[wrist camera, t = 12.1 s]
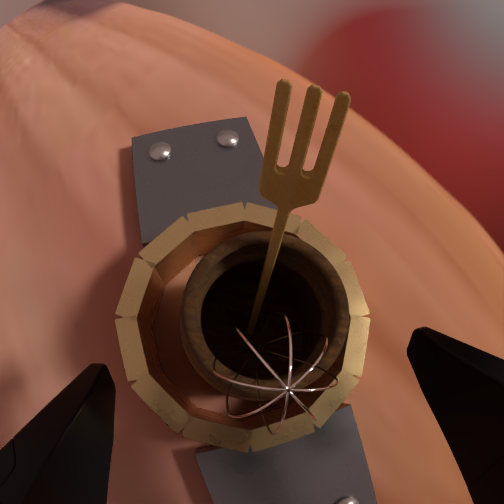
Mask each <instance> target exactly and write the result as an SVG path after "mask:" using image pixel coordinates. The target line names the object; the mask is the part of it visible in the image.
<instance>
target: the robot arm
mask: <svg viewBox="0 0 504 504" xmlns="http://www.w3.org/2000/svg"><path fill="white" fill-rule="evenodd" d="M407 356H408V359H409V361H410V363H411V366H412V368H413V370H414V373H415V375H416V378H417V380H418V382H419V385H420V387H421V390H422V392H423V394H424V396H425V398H426V400H427V402H428V404H429V406H430V408H431V410H432V412H433V414H434V416H435V418H436V420H437V422H438V424H439V426H440V428H441V430H442V432H443V434H444V436H445V438H446V440H447V442H448V444H449V447H450V449H451V451H452V453H453V455H454V457H455V460H456V462H457V464H458V466H459V469H460V471H461V473H462V476H463V478H464V480H465V483H466V485H467V487H468V490H469V493H470V495H471V498H472V501H473V503H474V504H504V360H503V359H501V358H498V357H496V356H494V355H491V354H489V353H487V352H484V351H482V350H480V349H477V348H475V347H473V346H470V345H468V344H466V343H463V342H461V341H459V340H456V339H454V338H452V337H449V336H447V335H444V334H442V333H440V332H437V331H435V330H433V329H430V328H428V327H421V328H417V329H415V330H414V331H413V333H412V336H411V339H410V342H409V345H408V347H407ZM115 394H116V390H115V384H114V382H113V379H112V377H111V375H110V372H109V370H108V368H107V366H106V365H105V364H101V363H92V364H90V365H89V366H88V367H87V368H86V369H85V370H84V371H83V372H81V373H80V374H79V375H78V376H77V377H76V378H75V379H74V380H73V381H72V382H71V383H70V384H69V385H67V386H66V387H65V388H64V389H63V390H62V391H61V392H60V393H59V394H58V395H57V396H56V397H55V398H54V399H53V400H52V401H51V402H49V403H48V404H47V405H46V406H45V407H44V408H43V409H42V410H41V411H40V412H39V413H38V414H37V415H36V416H35V417H34V418H33V419H32V420H31V421H30V422H29V423H28V424H27V425H25V426H24V427H23V428H22V429H21V430H20V431H19V432H18V433H17V434H16V435H15V436H14V438H13V439H11V440H10V441H9V442H8V443H7V444H6V445H5V446H4V447H3V448H2V449H1V450H0V504H107V491H108V480H109V471H110V462H111V454H112V446H113V437H114V411H115Z"/></svg>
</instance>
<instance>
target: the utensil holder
mask: <svg viewBox="0 0 504 504" xmlns="http://www.w3.org/2000/svg"><path fill="white" fill-rule="evenodd" d="M291 91H292V84H291V82H290V81H289V80H286V79H281V80H280V81H279V82H277V86H276V91H275V97H274V102H273V108H272V114H271V119H270V125H269V131H268V136H267V142H266V148H265V153H264V159H263V165H262V171H261V176H260V182H259V192H260V194H261V196H263V197H264V198H266V199H267V200H269V201H270V202H272V203H274V204H275V205H277V206H278V210H277V214H276V218H275V222H274V226H273V230H272V232H271V231H256V232H249V233H244V234H240V235H237V236H234V237H232V238H230V239H227V240H225V241H224V242H222V243H220V244H218V245H217V246H216V247H214V248H213V249H212V250H210V251H209V252H208V253H207V254H206V255H205V256H204V257H203V258H202V259H201V260H200V262H199V263H198V264H197V266H196V267H195V269H194V270H193V272H192V274H191V276H190V278H189V280H188V282H187V285H186V288H185V291H184V295H183V299H182V306H181V314H180V334H181V340H182V344H183V347H184V350H185V353H186V355H187V357H188V359H189V361H190V363H191V365H192V366H193V368H194V369H195V370H196V372H197V373H198V374H199V375H200V376H201V377H202V378H203V379H204V380H205V381H206V382H207V383H208V384H210V385H211V386H212V387H214V388H215V389H217V390H219V391H220V392H222V393H224V394H227V395H226V410H227V414H228V415H229V416H230V417H232V418H242V417H246V416H249V415H252V414H254V413H257V412H259V411H261V414H262V417H263V420H264V422H265V425H266V427H267V429H268V431H269V433H270V434H271V435H276V434H277V433H278V432H279V431H280V429H281V427H282V424H283V421H284V418H285V414H286V410H287V405H288V399H289V394H290V395H291V396H292V397H293V398H294V399H295V401H296V402H297V403H298V404H299V405H300V406H301V407H302V408H303V409H304V410H305V411H306V412H307V413H308V414H309V415H310V417H311V418H312V419H313V420H315V421H317V418H316V417H315V416H314V415H313V414H312V413H311V412H310V411H309V409H308V408H307V407H306V406H305V405H304V404H303V403H302V401H301V400H300V399H299V398H298V397H297V396H296V395H295V393H294V392H311V391H321V390H326V389H330V388H333V387H335V386H336V385H337V384H338V383H339V379H338V378H337V377H335V376H334V375H332V374H331V373H329V372H328V371H327V370H328V369H329V368H330V367H331V365H332V364H333V363H334V361H335V360H336V358H337V357H338V355H339V353H340V351H341V350H342V347H343V345H344V342H345V339H346V336H347V332H348V326H349V304H348V298H347V294H346V290H345V287H344V285H343V282H342V280H341V278H340V276H339V274H338V273H337V271H336V270H335V268H334V267H333V265H332V264H331V263H330V262H329V260H328V259H327V258H326V257H325V256H324V255H323V254H322V253H321V252H319V251H318V250H317V249H316V248H314V247H313V246H311V245H310V244H308V243H306V242H305V241H303V240H301V239H299V238H296V237H294V236H291V235H288V234H284V231H285V228H286V225H287V221H288V218H289V214H290V212H291V211H292V210H293V209H294V208H297V207H301V206H305V205H309V204H313V203H315V202H316V201H317V200H318V199H319V196H320V194H321V191H322V188H323V185H324V182H325V179H326V176H327V173H328V170H329V167H330V164H331V161H332V158H333V155H334V152H335V149H336V146H337V143H338V140H339V137H340V134H341V131H342V128H343V124H344V121H345V118H346V115H347V112H348V108H349V105H350V102H351V97H350V95H349V93H348V92H344V91H341V92H340V93H338V94H337V95H336V99H335V102H334V105H333V109H332V112H331V115H330V118H329V122H328V125H327V128H326V131H325V135H324V138H323V141H322V144H321V147H320V151H319V154H318V157H317V160H316V163H315V166H314V169H312V170H311V171H304V170H303V165H304V161H305V158H306V154H307V150H308V146H309V143H310V139H311V135H312V131H313V128H314V124H315V120H316V116H317V112H318V108H319V104H320V100H321V97H322V90H321V88H320V86H318V85H311V86H310V87H308V88H307V92H306V96H305V100H304V105H303V109H302V113H301V117H300V121H299V125H298V129H297V133H296V138H295V142H294V146H293V150H292V154H291V158H290V162H289V165H288V166H286V167H279V166H278V165H277V160H278V155H279V150H280V145H281V140H282V135H283V131H284V126H285V121H286V116H287V111H288V106H289V101H290V96H291ZM324 373H327V374H328V375H330V376H331V377H333V378H334V379H335V380H336V383H335V384H333V385H331V386H327V387H322V388H313V389H302V388H304V387H306V386H308V385H309V384H311V383H312V382H314V381H315V380H317V379H318V378H319V377H321V376H322V375H323V374H324ZM228 395H229V396H232V397H235V398H239V399H243V400H251V401H259V405H260V408H258V409H256V410H254V411H252V412H250V413H247V414H243V415H238V416H234V415H231V414H230V412H229V406H228ZM283 396H286V398H285V404H284V410H283V414H282V418H281V421H280V424H279V427H278V429H277V430H276V432H274V433H272V432H271V430H270V428H269V426H268V424H267V421H266V419H265V416H264V413H263V409H264V408H266V407H268V406H269V405H271V404H272V403H274V402H275V401H277V400H278V399H280V398H281V397H283ZM272 399H273V400H272ZM265 400H272V401H270V402H269V403H267V404H265V405H264V406H262V405H261V401H265Z"/></svg>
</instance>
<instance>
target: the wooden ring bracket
mask: <svg viewBox="0 0 504 504" xmlns="http://www.w3.org/2000/svg"><path fill="white" fill-rule="evenodd" d="M132 152H133V166H134V178H135V189H136V199H137V208H138V216H139V224H140V232H141V239H142V244H143V246H144V248H143V249H142V250H141V251H140V252H139V253H138V254H139V255H140V257H141V258H142V259H139V258H136V257H135V259H134V262H133V264H132V267H131V270H130V272H129V275H128V278H127V281H126V283H125V286H124V289H123V292H122V295H121V298H120V300H119V303H118V306H117V309H116V312H115V314H116V315H118V316H119V317H121V318H119V319H115V324H116V330H117V335H118V340H119V345H120V350H121V355H122V359H123V363H124V368H125V372H126V376H127V380H128V381H136V382H135V383H134V384H133V385H132V386H131V388H132V389H133V390H134V391H135V392H136V393H137V394H138V395H139V396H140V397H141V399H142V400H143V401H144V402H145V403H146V404H147V405H148V406H149V407H150V408H151V409H152V410H153V411H154V412H155V413H156V414H157V415H158V416H159V417H160V418H161V419H162V420H163V421H164V422H165V423H166V424H167V425H168V426H169V427H170V428H171V429H172V430H173V431H174V432H175V433H176V434H177V433H179V432H180V431H181V430H182V429H183V428H184V431H183V435H182V437H184V438H188V439H191V440H195V441H198V442H202V443H206V444H210V445H213V446H209V447H204V448H199V449H196V451H195V457H196V460H197V463H198V465H199V468H200V471H201V473H202V476H203V478H204V481H205V483H206V486H207V488H208V491H209V493H210V495H211V498H212V500H213V503H214V504H377V501H376V496H375V492H374V488H373V484H372V480H371V476H370V472H369V468H368V465H367V461H366V457H365V453H364V450H363V446H362V442H361V439H360V435H359V431H358V428H357V424H356V421H355V417H354V414H353V411H352V407H351V405H350V404H345V403H342V402H343V401H344V400H345V398H346V397H347V396H348V395H349V393H350V392H351V391H352V390H353V388H354V387H355V386H356V385H357V383H358V382H359V380H357V379H356V378H355V377H354V376H361V375H362V370H363V364H364V359H365V353H366V346H367V340H368V333H369V325H370V318H366V317H363V316H365V315H368V314H370V312H369V310H368V307H367V304H366V301H365V298H364V296H363V293H362V290H361V288H360V285H359V282H358V280H357V277H356V274H355V272H354V269H353V267H352V264H351V262H350V261H346V262H343V261H344V260H345V258H346V257H347V256H346V255H345V254H344V253H343V252H342V251H341V250H340V249H339V248H338V247H336V246H335V245H334V244H333V243H332V242H331V241H330V240H329V239H328V238H326V237H325V236H324V235H323V234H322V233H321V232H320V231H319V230H317V229H316V228H315V227H314V226H313V225H312V224H311V223H309V222H308V221H307V220H306V219H305V220H304V221H303V222H302V223H301V224H300V221H301V217H300V216H297V215H293V214H289V218H288V221H287V225H286V228H285V231H284V234H288V235H291V236H294V237H296V238H299V239H301V240H303V241H305V242H306V243H308V244H310V245H311V246H313V247H314V248H316V249H317V250H318V251H319V252H321V253H322V254H323V255H324V256H325V257H326V258H327V259H328V260H329V262H330V263H331V264H332V265H333V267H334V268H335V270H336V271H337V273H338V274H339V276H340V278H341V280H342V282H343V285H344V287H345V290H346V294H347V298H348V304H349V326H348V332H347V336H346V339H345V342H344V345H343V347H342V350H341V351H340V353H339V355H338V357H337V358H336V360H335V361H334V363H333V364H332V365H331V367H330V368H329V369H328V370H327V371H328V372H329V373H331V374H332V375H334V376H335V377H337V378H338V379H339V383H338V384H337V385H336V386H335V387H333V388H330V389H326V390H321V391H311V392H301V393H300V394H299V395H298V396H297V397H298V398H299V399H300V400H301V401H302V403H303V404H304V405H305V406H306V407H307V408H308V409H309V411H310V412H311V413H312V414H313V415H314V416H315V417H316V418H317V421H315V420H313V419H312V418H311V417H310V415H309V414H308V413H307V412H306V411H305V410H304V409H303V408H302V407H301V406H300V405H299V404H298V403H297V402H296V401H295V400H294V401H293V402H292V403H291V404H290V405H288V406H287V410H286V414H285V418H284V421H283V424H282V427H281V429H280V431H279V432H278V433H277V434H276V435H271V434H270V433H269V431H268V429H267V427H266V425H265V422H264V420H263V417H262V414H260V415H257V416H253V417H250V418H246V419H241V418H232V417H230V416H228V415H224V414H220V413H216V412H212V411H208V410H204V409H201V408H197V407H196V406H195V405H194V404H192V403H191V402H190V401H189V400H188V399H187V398H186V397H185V396H184V395H183V394H182V393H181V392H180V391H179V390H178V389H177V388H176V387H175V386H174V385H173V384H172V383H171V382H170V381H169V380H168V379H167V378H166V376H165V375H164V374H163V373H162V369H161V366H160V362H159V358H158V354H157V350H156V345H155V341H154V337H153V332H152V325H153V322H154V319H155V315H156V312H157V309H158V306H159V303H160V300H161V297H162V294H163V291H164V288H165V285H166V284H167V283H168V282H169V281H170V280H172V279H173V278H174V277H175V276H176V275H177V274H178V273H179V272H180V271H182V270H183V269H184V268H185V267H186V266H187V265H188V264H189V263H191V262H192V261H193V260H194V259H195V258H196V257H197V256H199V255H204V254H207V253H208V252H209V251H210V250H212V249H213V248H214V247H216V246H217V245H218V244H220V243H222V242H224V241H225V240H227V239H230V238H232V237H234V236H237V235H240V234H244V233H249V232H256V231H271V232H272V230H273V226H274V222H275V218H276V214H277V210H278V206H277V205H275V204H274V203H272V202H270V201H269V200H267V199H266V198H264V197H263V196H261V194H260V192H259V182H260V176H261V171H262V165H263V159H264V158H263V155H262V153H261V151H260V148H259V146H258V143H257V141H256V139H255V136H254V134H253V132H252V129H251V127H250V124H249V122H248V120H247V118H246V117H240V118H232V119H225V120H218V121H212V122H206V123H200V124H194V125H188V126H183V127H178V128H173V129H168V130H163V131H158V132H154V133H150V134H145V135H141V136H137V137H133V138H132ZM342 262H343V263H342ZM335 383H336V380H335V379H334V378H333V377H331V376H330V375H328V374H327V373H324V374H323V375H322V376H321V377H319V378H318V379H317V380H315V381H314V382H312V383H311V384H309V385H308V386H306V388H305V389H313V388H322V387H327V386H331V385H333V384H335ZM341 403H342V404H341ZM283 410H284V407H282V408H279V409H276V410H273V411H270V412H266V413H264V416H265V419H266V421H267V424H268V426H269V428H270V430H271V432H272V433H274V432H276V430H277V429H278V427H279V424H280V421H281V418H282V414H283Z"/></svg>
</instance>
